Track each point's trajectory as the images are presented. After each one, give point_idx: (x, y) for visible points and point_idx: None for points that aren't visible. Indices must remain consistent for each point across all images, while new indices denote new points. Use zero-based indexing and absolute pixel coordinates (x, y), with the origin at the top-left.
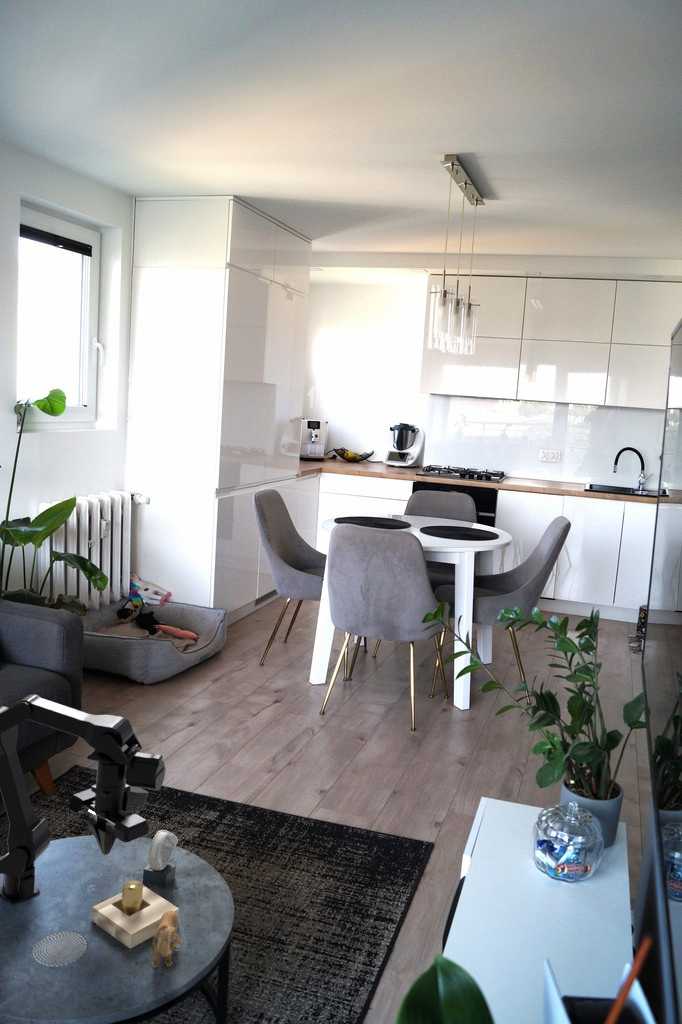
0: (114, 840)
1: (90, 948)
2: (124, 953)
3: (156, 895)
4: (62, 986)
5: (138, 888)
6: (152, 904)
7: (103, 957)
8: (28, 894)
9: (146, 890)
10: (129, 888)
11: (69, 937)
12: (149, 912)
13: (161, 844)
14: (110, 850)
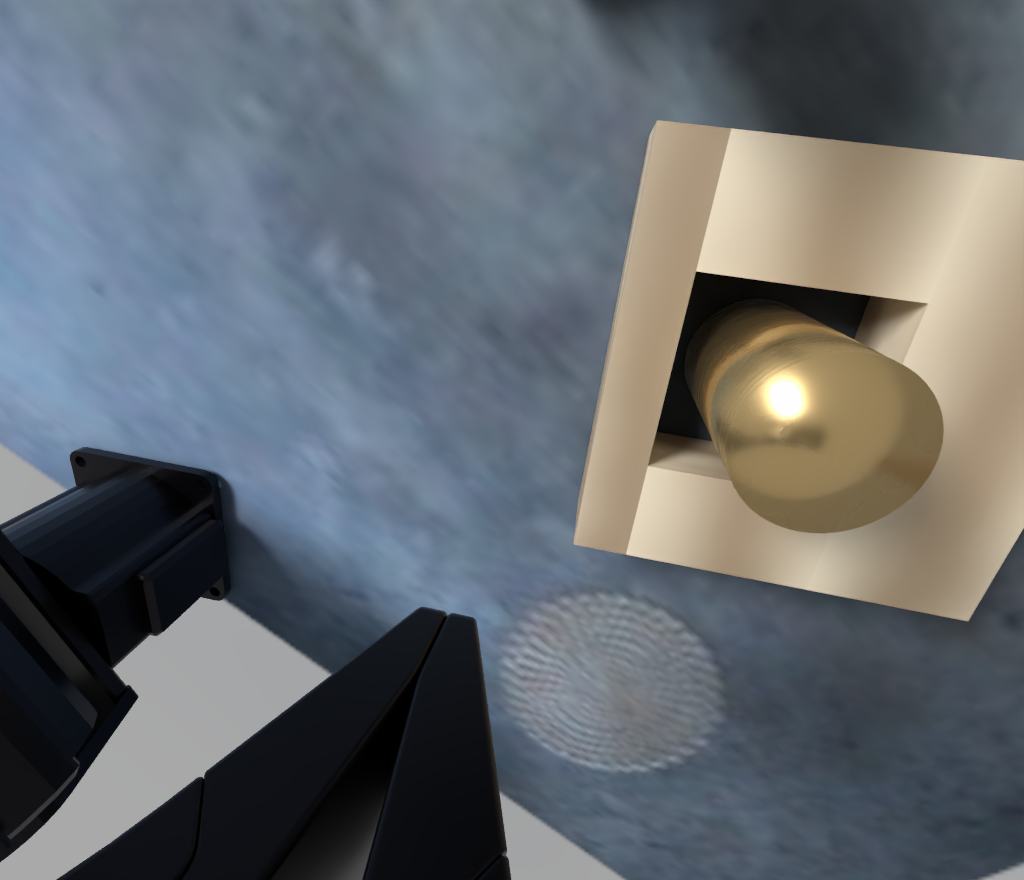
0: (505, 853)
1: (722, 642)
2: None
3: (900, 165)
4: (777, 823)
5: (905, 445)
6: (934, 291)
7: (820, 659)
8: (218, 553)
9: (772, 169)
10: (823, 494)
11: (585, 630)
12: (966, 387)
13: None
14: (479, 646)
